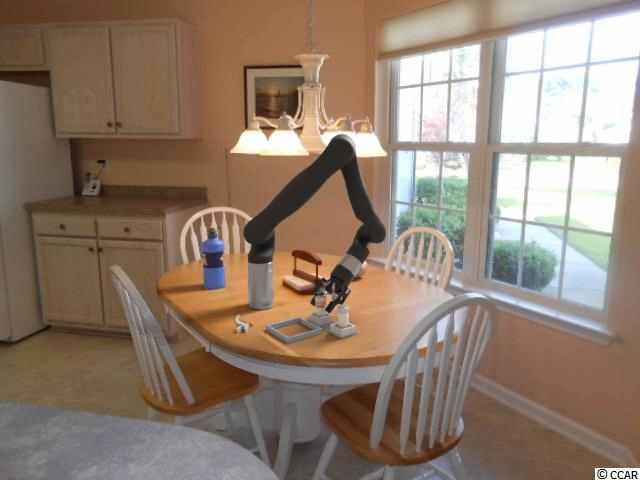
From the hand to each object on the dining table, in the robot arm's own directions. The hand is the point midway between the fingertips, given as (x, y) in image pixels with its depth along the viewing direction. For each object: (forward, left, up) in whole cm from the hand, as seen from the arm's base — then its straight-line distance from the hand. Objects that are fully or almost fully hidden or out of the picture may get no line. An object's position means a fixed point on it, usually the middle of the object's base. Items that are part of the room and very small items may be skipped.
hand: (319, 308), depth 162 cm
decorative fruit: (-35, +47, -6) cm, 59 cm away
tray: (+2, -11, -6) cm, 13 cm away
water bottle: (-61, -10, -6) cm, 62 cm away
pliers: (-15, -20, -6) cm, 25 cm away
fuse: (+12, +1, -5) cm, 13 cm away
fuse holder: (+6, +1, -6) cm, 8 cm away
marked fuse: (0, +1, -5) cm, 5 cm away
